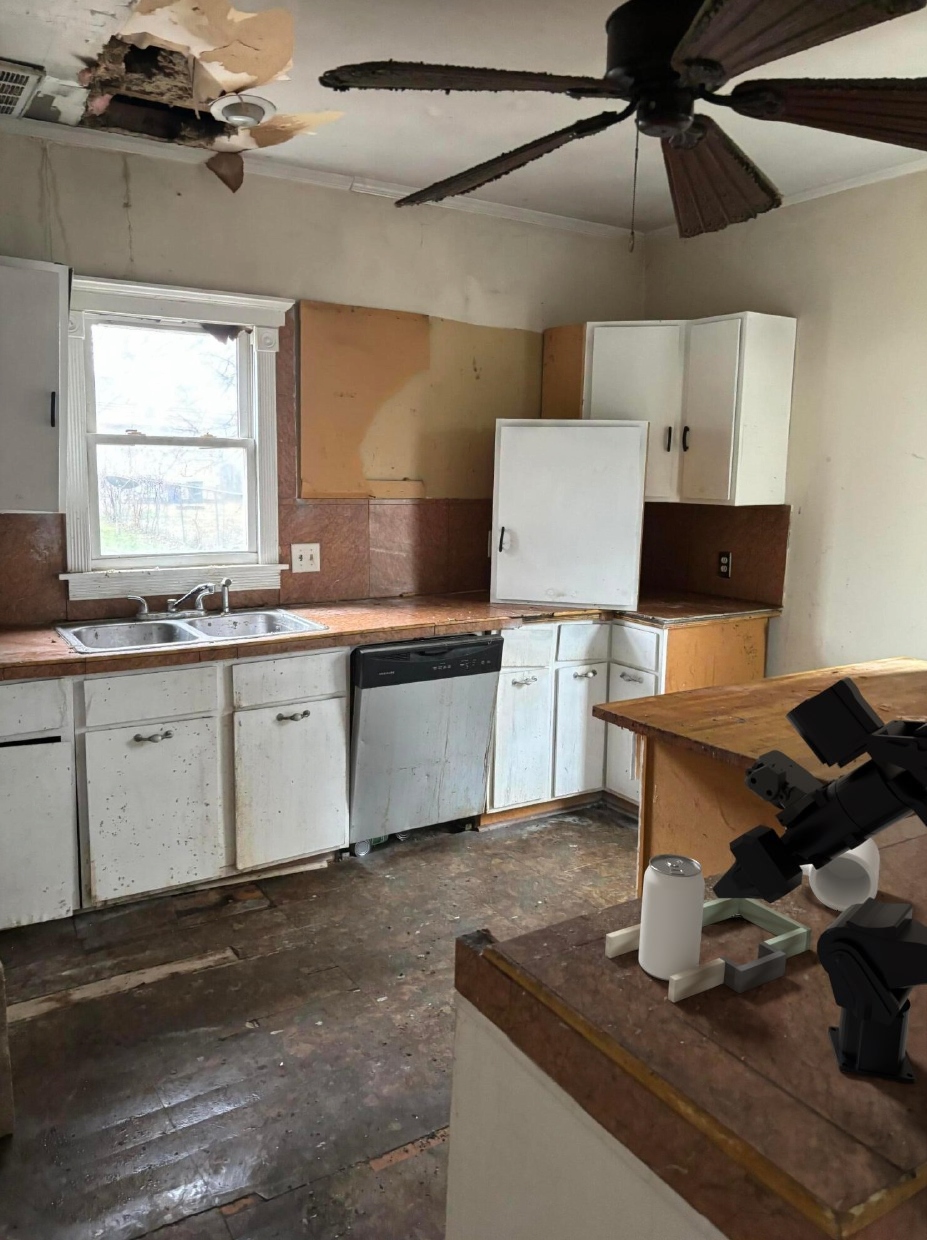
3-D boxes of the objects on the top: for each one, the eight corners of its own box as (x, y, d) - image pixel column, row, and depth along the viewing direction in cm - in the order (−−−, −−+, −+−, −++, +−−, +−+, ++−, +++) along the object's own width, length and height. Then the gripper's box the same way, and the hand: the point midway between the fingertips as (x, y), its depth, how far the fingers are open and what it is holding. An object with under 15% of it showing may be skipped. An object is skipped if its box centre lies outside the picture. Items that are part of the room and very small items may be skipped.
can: (693, 954, 100) (700, 854, 99) (702, 986, 94) (711, 879, 92) (635, 949, 101) (642, 850, 99) (641, 980, 95) (648, 875, 93)
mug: (876, 888, 119) (882, 832, 118) (874, 919, 110) (880, 859, 109) (782, 869, 124) (787, 814, 123) (773, 897, 115) (778, 839, 114)
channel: (689, 1014, 89) (691, 991, 88) (592, 946, 101) (593, 926, 101) (826, 958, 100) (828, 937, 100) (723, 903, 113) (725, 885, 113)
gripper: (841, 716, 91) (733, 791, 100) (758, 752, 78) (643, 834, 87) (914, 810, 87) (795, 879, 96) (840, 864, 74) (710, 938, 83)
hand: (737, 879), depth 91 cm, fingers open, 9 cm apart
